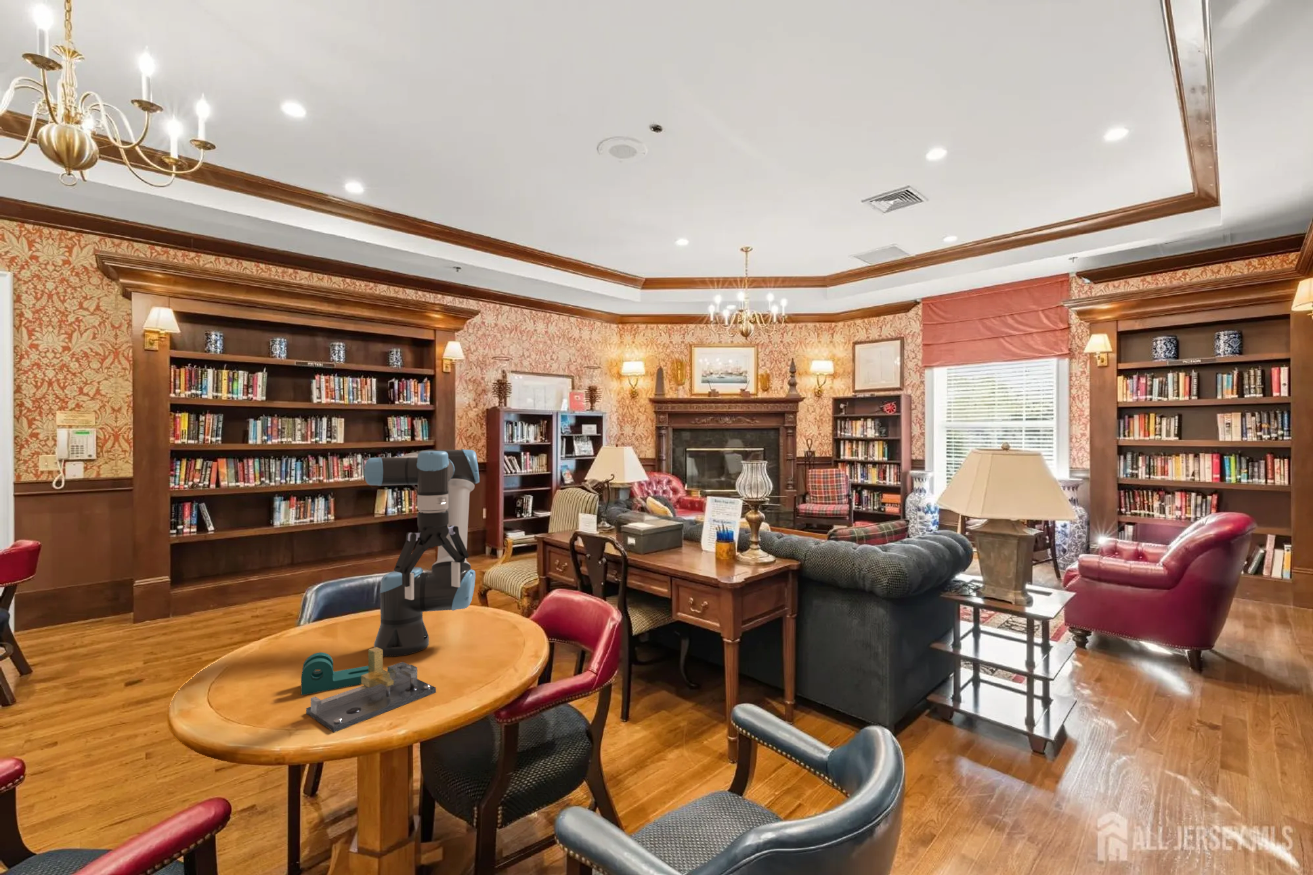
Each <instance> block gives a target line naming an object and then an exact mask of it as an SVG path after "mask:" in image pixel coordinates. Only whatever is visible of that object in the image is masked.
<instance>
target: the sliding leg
mask: <svg viewBox="0 0 1313 875" xmlns="http://www.w3.org/2000/svg"><path fill="white" fill-rule="evenodd" d="M367 650H368V656H367V657H368V665H367V666H368V673H367V674H364V675H361V684H360V685H362V686H363V685H365V686H367V687H369V688H371V687H373V686H376V685H379V684H383V685H385V686H386V697H389V696H390V685H393V684H394V680H392V679H390V673H389V672H387V670H386V669H384V667H383V666H384V665H383V663H384V660H383V659H384V658H383V657H384V656H383V650H382V649H380V648H378V647H375V648H374V647H373V648H369V649H367Z"/></svg>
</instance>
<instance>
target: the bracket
mask: <svg viewBox="0 0 1313 875" xmlns="http://www.w3.org/2000/svg"><path fill="white" fill-rule="evenodd" d="M367 673H368V665H365V666H359V667H354V668H347V669H342V670H336V671H334V660H333V657H332V656H331V655H330V654H328V653H326V652H316V653H313V654H311V655H310V656H308V657H307V658H306V659H305V661H304V662H303V666H302V669H301V676H300V686H301V687H300V691H301V692H300V696H306V695H311V694H316V693H321V692H326V691H331V690H332V691H333V690H336V689H337V690H338V689H343V688H349V687H355V686H359V685H362V684H361V675H364V674H367Z"/></svg>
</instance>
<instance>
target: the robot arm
mask: <svg viewBox="0 0 1313 875" xmlns="http://www.w3.org/2000/svg"><path fill="white" fill-rule="evenodd" d="M363 470H364V471H363V472H364V479H365V482H366V484H367V485H368V486H378V487H381V486H404V485H405V486H406V485H407V486H411V485H412V486H413V485H414V486H415V485H417V503H416V504H417V510H418V513H417V528H418V530H417V532H411V531H410V532H406V536H405V543H404V545H403V547H402V549H401V552H400V554H399V557H398V559H397V561H396V563H395V566H394V569H393V571H390V572H388V573H386V574H384V575H383V576H382V578H381V580H380V590H379V594H380V595H379V597H380V599H379V600H380V607H379V608H380V625H379V628H378V632H377V635H376V637H375V640H374V643H373V648H375V647H378V648H380V649H382V650H383V657H400V656H407V655H411V654H414V653H415V654H416V653H417V652H421V651H422V650H424V649H426V648H427V647H429V643H430V637H429V636H430V635H429V633H428V631H427V628H426V625H425V621H424V619H423V616H424V615H423V613H424V612H439V611H440V612H441V611H442V612H443V611H457V610H465V609H467V608H468V607H469V606H470V605H471V603H472V600H473V596H474V591H475V584H476V571H475V570H474V569H472V565H471V563H470V562H468V560H467V559H468V558H469V557H470V556H469V552H468V550H467V549H468V528H469V527H468V526H469V513H470V512H469V511H470V494H471V492H472V491H474V489H475V488H476V487H475V485H476V484H479V483H480V474H479V464H478V456H477V452H476V451H475V450H473V449H463V448H461V449H425V450H419V451H414V452H410V453H406V454H404V455H402V456H391V457H389V456H388V457H381V456H378V457H369V458H367V460H366V461H365V464H364V469H363ZM435 547H437V548H438V549H437V559H436V561H435V562H434V563H432V565H431V568H430V569H431V571H425V572H424V569H423V568H422V567H421V566H416V565H417V564H418V562H419V560H420V559H422V558H421V557H422V556H423V554H424V552H426V551H428V550H429V549H432V548H435Z"/></svg>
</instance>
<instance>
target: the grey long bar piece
mask: <svg viewBox="0 0 1313 875" xmlns="http://www.w3.org/2000/svg"><path fill="white" fill-rule="evenodd" d="M386 669H387V670H386V671H387V672H389V673H390V679H392V680H394V684H393V685H390V688H391V687H394V686H397V685H399V684H402V683H405V682H408V681H410V689H414V680H416V679H418V667H417V666H415V665H413V664H408V663H406V662H404V661H401V662H398V663H394V664H393V665H392V664H391V665H389V666H387V668H386ZM385 689H386V686H385V685H383V684H379V685H376V686H373V687H371V688H369V687H367V686H365V685H363V684H362V685H361V686H357V687H355V688H352V689H349V690H346V691H343V692H340V693H338V694H334V695H331V696H329V697H326V698H323V699H320V698H318V697H317V696H313V697H310V707H311V712H312V713H314V714H315V715H319V714H321V712H324V711H327V710H330V709H333V708H335V707H338V706H341V705H344V704H346V703H349V702H352V701H355V700H358V699H360V698H363V697H366V696H369V695H372V694H374V693H377V692H380V691H383V690H385Z"/></svg>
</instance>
